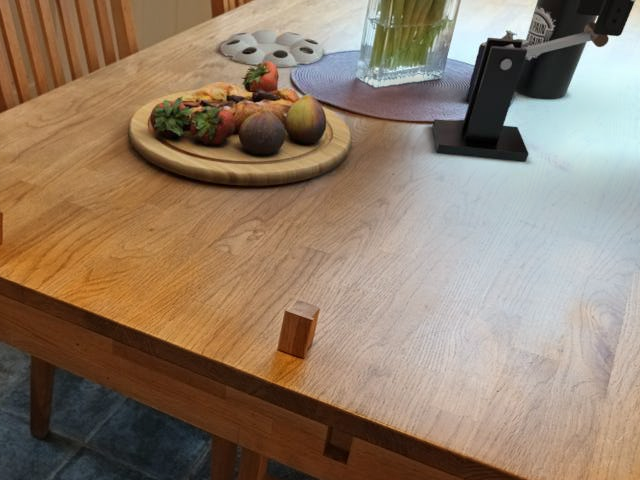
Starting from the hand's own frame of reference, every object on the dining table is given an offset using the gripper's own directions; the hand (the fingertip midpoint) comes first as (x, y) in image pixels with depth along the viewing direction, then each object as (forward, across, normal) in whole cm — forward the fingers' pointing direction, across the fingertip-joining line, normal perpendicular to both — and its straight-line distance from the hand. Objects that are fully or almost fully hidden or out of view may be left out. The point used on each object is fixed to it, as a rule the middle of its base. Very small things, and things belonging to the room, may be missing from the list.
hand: (596, 24), depth 92 cm
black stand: (+17, 0, +10) cm, 20 cm away
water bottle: (+17, +27, -3) cm, 32 cm away
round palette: (+18, +37, +44) cm, 60 cm away
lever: (+4, 0, +5) cm, 6 cm away
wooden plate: (+18, -8, +44) cm, 48 cm away
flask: (+17, +20, +6) cm, 27 cm away
